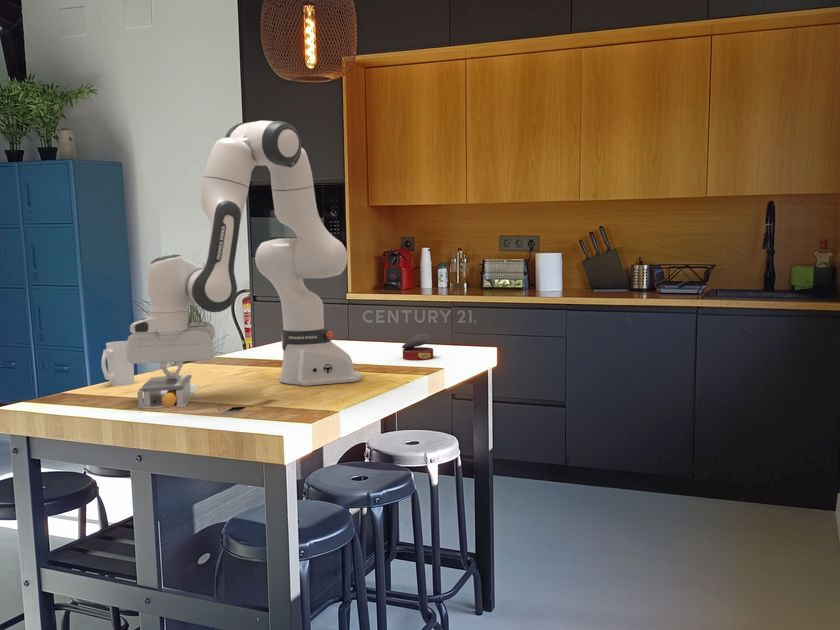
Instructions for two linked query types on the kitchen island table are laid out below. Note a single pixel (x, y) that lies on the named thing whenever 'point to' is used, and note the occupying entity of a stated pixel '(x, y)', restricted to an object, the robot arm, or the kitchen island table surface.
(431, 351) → the canned food
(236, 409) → the knife
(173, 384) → the lid
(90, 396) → the kitchen island table surface
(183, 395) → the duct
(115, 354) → the mug
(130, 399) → the kitchen island table surface
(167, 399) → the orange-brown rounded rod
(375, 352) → the kitchen island table surface
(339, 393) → the kitchen island table surface
